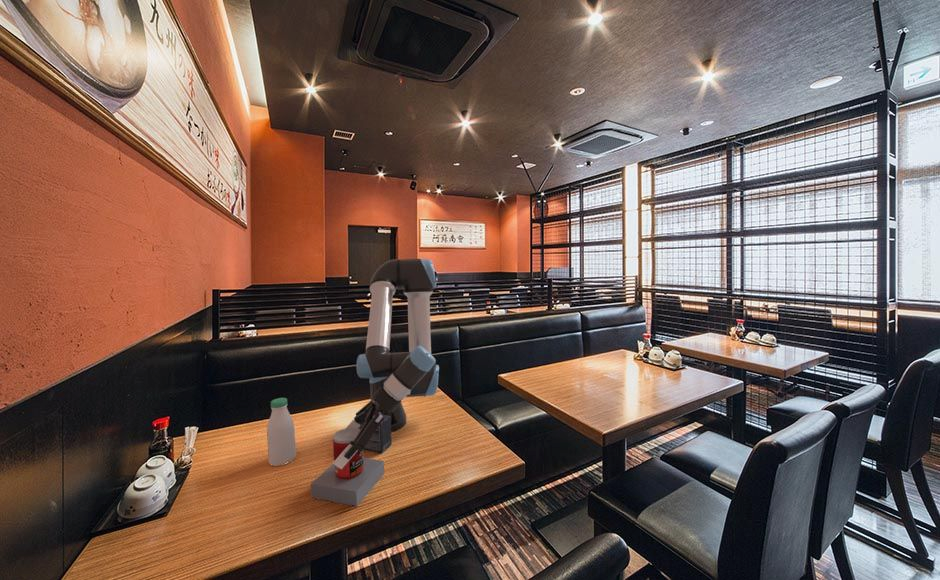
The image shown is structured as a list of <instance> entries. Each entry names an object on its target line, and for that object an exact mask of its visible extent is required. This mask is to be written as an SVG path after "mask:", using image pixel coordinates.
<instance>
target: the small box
mask: <svg viewBox="0 0 940 580" xmlns="http://www.w3.org/2000/svg"><path fill="white" fill-rule="evenodd" d="M383 417H385V419H384V420H383V421H382V423H381V424H380V425H379V426H378V428H377V429H376V431H375V432H374V434H373V435H372V437H371V438H370V440H369V441H368V443H367V444H366V446H365V447H364V449H363V451H368V452H373V453H377V454H383V453H384V452H385V451H387V450H388V449H389V447H391V446H392V445H393V444H392V443H393V442H392V432H391V416H388V415H383ZM364 423H365V421H364V422H363V424H362V425H361V424H360V423H359V424H360V427H359V428H358V429H360V430H361V428H362V427H363V425H364Z"/></svg>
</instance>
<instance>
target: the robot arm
mask: <svg viewBox="0 0 940 580" xmlns="http://www.w3.org/2000/svg"><path fill="white" fill-rule="evenodd" d="M434 268H435V266H434V263H433V261H432V260H431V259H429V258H408V259H407V258H406V259H405V258H404V259H390V260H387V261H385V262H383V264H381V265H380V266H379V267H378V268H377V269H376V271H375V272H374V273H373V275H372V276H371V279H370V284H369V291H370V294H371V298H370V299H371V300H370V307H369V308H370V309H369V316H368V317H369V318H368V328H367V336H366V343H365V353H363V354H362V353H361V354H359V355H358V356H357V359H356V373H357V376H358V377H359V378H361V379H369V380H368V381H369V390H370V391H369V393H370V401H369V402H367V404H365V405H364V406H363V407H362V408H361V409H359V410H358V411H357V412H356V413H355V416H354V417H353V419H352V420H351V421H350V423H349V424H348V425H347V426H346V427H345V428H344V429H346V428H359V427H360V424H361V425H362V424H363V422H364V421H365V423H364V425H363V427H362V428H361V430H360V431H359V433H358V435H357V436H356V438H355V440H354V441H351V442H350V443H349V445H348V446H347V447H346V449H345V450H344V451H343V452H342V453H341V454H340V455H339V456H338V458H337V459H336V460H335V461H334V460H333V462H332V464H334V465H335V466H337V467H338V468H340V469H342V468H343V467H344V466H345V465H346V464H347V462H348V461H349V460H350V459H351V458H352V457H353V456H354V455H355V453H356V452H357V451H358V450H359V451H360V452H362V451H363V452H364V450H363V449H364V447H365V446H366V444H367V443H368V441H369V440H370V438H371V437H372V435H373V434H374V432H375V431H376V429H377V428H378V426H379V425H380V424H381V423H382V421H383V420H384V419H385V417H383V415H388V416H391V433H392V432H395V431H398V430H400V429H401V428H403V427H405V425H406V424H407V413H406V411H405V408H404V406H403V404H402V403H403V402H402V401H404V399H406V398H415V397H416V398H417V397H428V396H429V397H430V396H435V394H436V393H437V391H438V386H439V372H440V365H439V364H436V361H437V360H436V358H435V357H434V356H433V355H432V339H431V335H432V334H431V313H430V312H431V305H430V300H431V299H430V298H431V296H432V294H433V293H434V289H436V288H437V281H436V274H435V273H436V272H435V269H434ZM398 289H399V290H402V289H403V294H404V295H405V296H406V297H407V321H408V322H407V323H408V327H407V328H408V350H409V351H406V352H405V351H402V352H390V350H391V349H390V348H391V347H390V344H391V331H392V330H391V329H392V312H393V299H394V297H393V296H394V295H395V294H396V291H397V290H398ZM359 423H360V424H359Z"/></svg>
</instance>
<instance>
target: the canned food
mask: <svg viewBox="0 0 940 580" xmlns="http://www.w3.org/2000/svg"><path fill="white" fill-rule="evenodd" d="M345 428H346V427H345ZM345 428H343V429H340V430H337V431H336V432H335V433H334V434H333V436H332V447H333V450H332V451H333V462H334V461H335V460H336V459H337V458H338V456H339V455H340V454H341V453H342V452H343V451H344V450H345V449H346V447H347V446H348V445H349V443H350V442H351V441H354V440H355V438H356V436H357V435H358V433H359V431H360V429H358V428H346V429H345ZM363 458H364V450H363V451H362V452H360V451H359V450H358V451H357V452H356V453H355V455H354V456H353V457H352V458H351V459H350V460H349V461H348V462H347V464H346V465H345V466H344V467H343V468H342V469H340V468H338V467H337V466H335V465H334V469H335V474H336V476H337V477H338V478H340V479H351V478H354V477H356V476H358V475H359V474H360V473H361V472H362V471H363V467H364V461H363Z"/></svg>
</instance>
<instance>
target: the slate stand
mask: <svg viewBox="0 0 940 580" xmlns="http://www.w3.org/2000/svg"><path fill="white" fill-rule="evenodd" d="M363 461H364V467H363V471H362V472H361V473H360V474H359V475H358V476H356V477H354V478H351V479H340V478H338V477H337V476H336V474H335V469H334V464H333V463H332V464H331V465H330V466H329V467H328V468H327V469H325V471H323V472H322V473H321V474H320V475H319V476H318V477H316V478H315V479H314V480H313V481H312V482H311V483H310V495H311V497H314V498H313V499H315V498H319V499H318V500H320V499H324V500H323V501H326V500H329V501H328V502H331V501H333V502H332V503H336V504H337V503H338V504H343V505H348V506H352V505H354V506H353V507H358V506H359V505H358V504H359V503H360V504H361V502H362V501H363V500H364V499H365V498H366V496H367V495H368V494H369V492H371V491H372V489H373V488H374V487H375V486H376V485H377V483H378V482H379V480H381V478H382V477H383V476H384V475H385V461H384V460H381V459H373V458H367V457H363Z"/></svg>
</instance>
